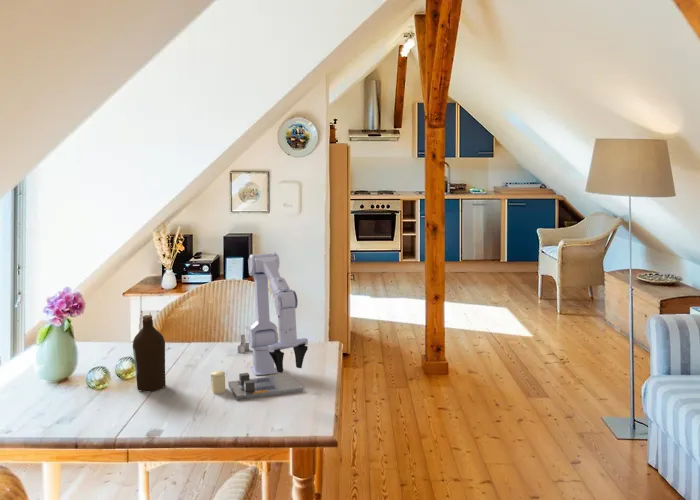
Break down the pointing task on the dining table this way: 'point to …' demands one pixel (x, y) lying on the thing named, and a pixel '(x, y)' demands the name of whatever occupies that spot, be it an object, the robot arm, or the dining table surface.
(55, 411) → the dining table surface
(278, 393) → the panel
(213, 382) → the cap
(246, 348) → the architectural model
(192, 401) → the dining table surface
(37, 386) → the dining table surface
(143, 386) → the olive oil
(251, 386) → the breaker tagged
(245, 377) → the block
